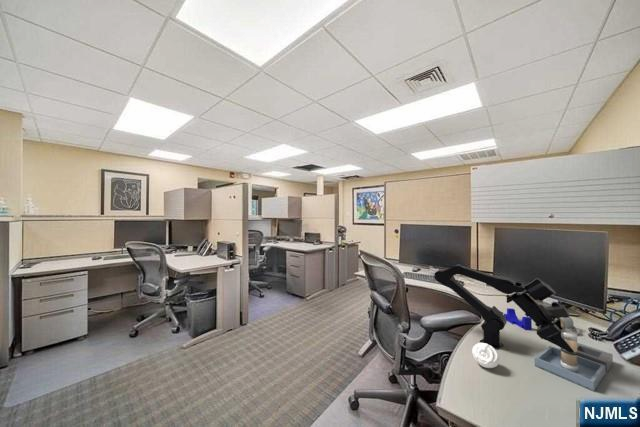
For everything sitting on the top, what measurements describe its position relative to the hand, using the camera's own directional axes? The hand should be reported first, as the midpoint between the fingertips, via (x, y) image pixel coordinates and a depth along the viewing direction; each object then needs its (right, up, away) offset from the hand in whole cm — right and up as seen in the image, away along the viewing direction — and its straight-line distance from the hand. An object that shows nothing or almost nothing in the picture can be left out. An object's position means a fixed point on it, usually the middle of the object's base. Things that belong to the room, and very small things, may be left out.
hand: (572, 347), depth 80 cm
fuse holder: (+13, -9, +6) cm, 17 cm away
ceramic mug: (+29, -10, +30) cm, 43 cm away
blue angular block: (+12, -10, +35) cm, 39 cm away
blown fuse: (-1, -8, 0) cm, 8 cm away
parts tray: (-1, -8, 0) cm, 9 cm away
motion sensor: (-29, -8, +2) cm, 31 cm away
